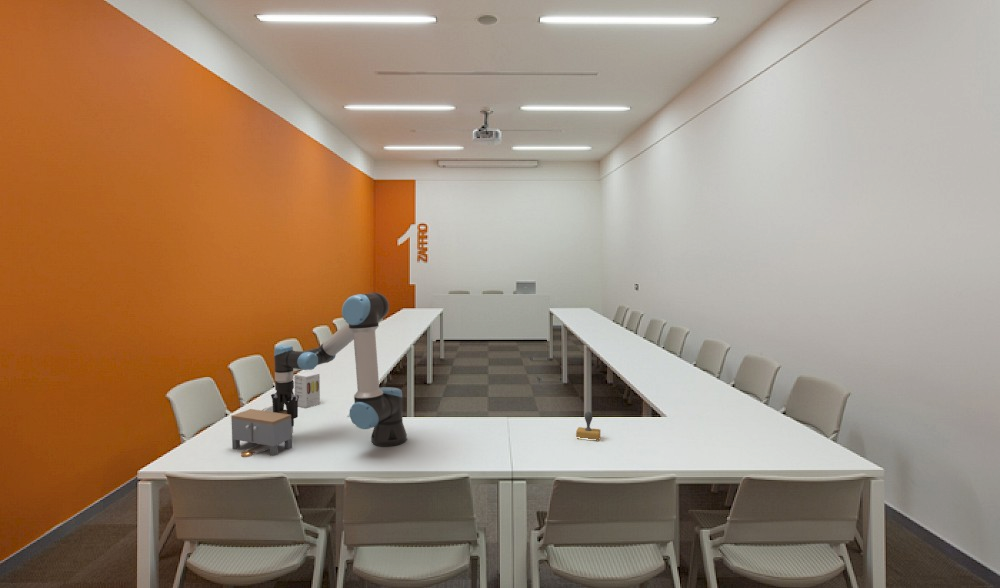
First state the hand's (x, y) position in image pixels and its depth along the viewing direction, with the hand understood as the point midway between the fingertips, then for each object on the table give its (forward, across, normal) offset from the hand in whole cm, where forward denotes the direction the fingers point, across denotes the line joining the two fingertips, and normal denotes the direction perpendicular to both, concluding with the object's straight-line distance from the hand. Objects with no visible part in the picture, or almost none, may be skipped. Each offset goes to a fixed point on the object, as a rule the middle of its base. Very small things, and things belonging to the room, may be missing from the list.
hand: (285, 432), depth 231 cm
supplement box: (+2, +26, -44) cm, 51 cm away
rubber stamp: (+3, -124, -49) cm, 133 cm away
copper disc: (+2, 0, +21) cm, 21 cm away
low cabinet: (+2, 0, +13) cm, 14 cm away
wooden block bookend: (+2, 0, +9) cm, 9 cm away
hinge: (+3, +18, -10) cm, 21 cm away
